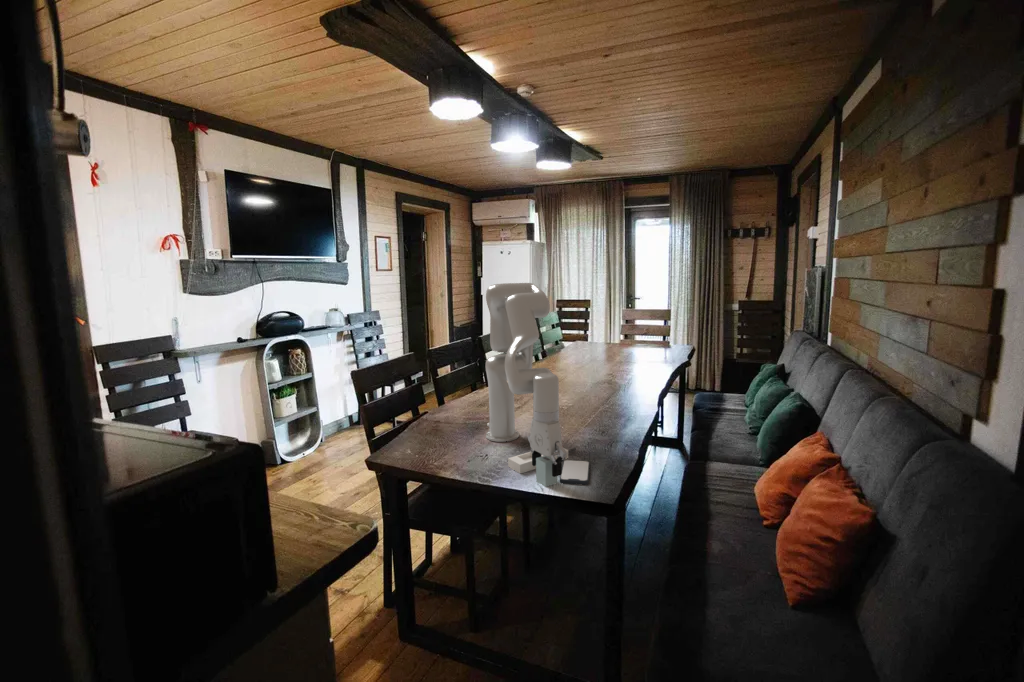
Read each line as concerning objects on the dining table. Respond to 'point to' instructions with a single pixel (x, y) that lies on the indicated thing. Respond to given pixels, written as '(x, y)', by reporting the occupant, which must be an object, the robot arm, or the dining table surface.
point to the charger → (545, 471)
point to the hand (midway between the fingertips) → (546, 469)
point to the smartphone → (575, 472)
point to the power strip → (527, 461)
